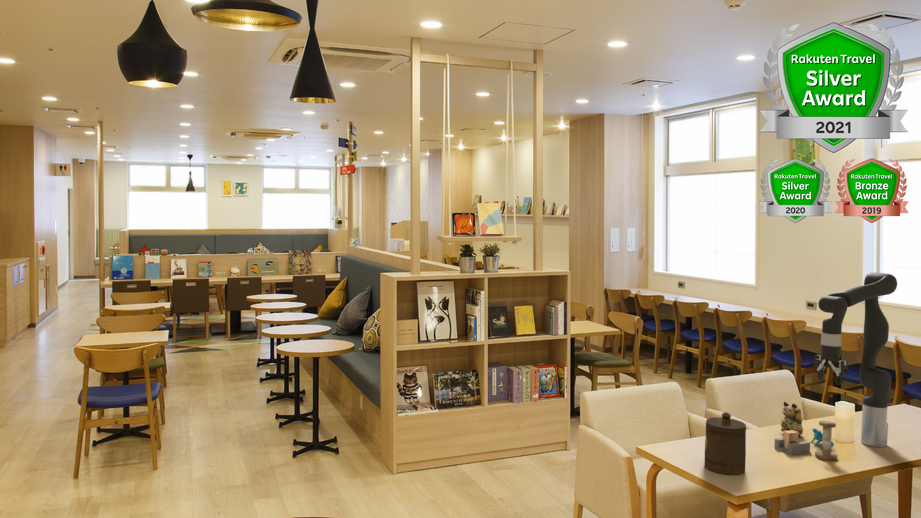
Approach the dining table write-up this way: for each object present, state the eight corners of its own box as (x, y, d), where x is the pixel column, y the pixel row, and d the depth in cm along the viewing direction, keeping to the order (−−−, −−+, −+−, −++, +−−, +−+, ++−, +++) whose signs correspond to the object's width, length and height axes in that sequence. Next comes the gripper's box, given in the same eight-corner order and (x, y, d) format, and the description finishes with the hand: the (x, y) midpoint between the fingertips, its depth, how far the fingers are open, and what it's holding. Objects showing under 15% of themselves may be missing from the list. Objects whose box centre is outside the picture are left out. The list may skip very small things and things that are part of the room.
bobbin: (824, 453, 272) (826, 419, 272) (841, 459, 265) (843, 424, 264) (810, 455, 270) (811, 420, 269) (827, 461, 262) (828, 426, 261)
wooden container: (719, 458, 264) (721, 405, 263) (753, 470, 252) (755, 415, 251) (696, 465, 256) (698, 411, 255) (729, 478, 244) (731, 420, 243)
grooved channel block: (792, 445, 282) (792, 436, 282) (809, 452, 274) (810, 442, 273) (774, 447, 279) (774, 438, 278) (791, 454, 270) (792, 445, 270)
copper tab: (792, 446, 278) (792, 430, 278) (797, 448, 275) (798, 432, 275) (783, 447, 276) (783, 431, 276) (788, 449, 273) (789, 433, 273)
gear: (839, 446, 276) (822, 429, 277) (829, 456, 276) (812, 439, 277) (826, 441, 287) (809, 424, 288) (816, 450, 287) (799, 434, 288)
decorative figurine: (777, 433, 298) (778, 401, 297) (787, 430, 303) (788, 398, 302) (797, 439, 290) (798, 406, 289) (807, 436, 295) (809, 403, 294)
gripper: (853, 346, 265) (851, 385, 266) (823, 340, 278) (821, 377, 279) (839, 347, 262) (838, 387, 263) (809, 341, 276) (808, 379, 277)
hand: (829, 382), depth 271 cm, fingers open, 8 cm apart
